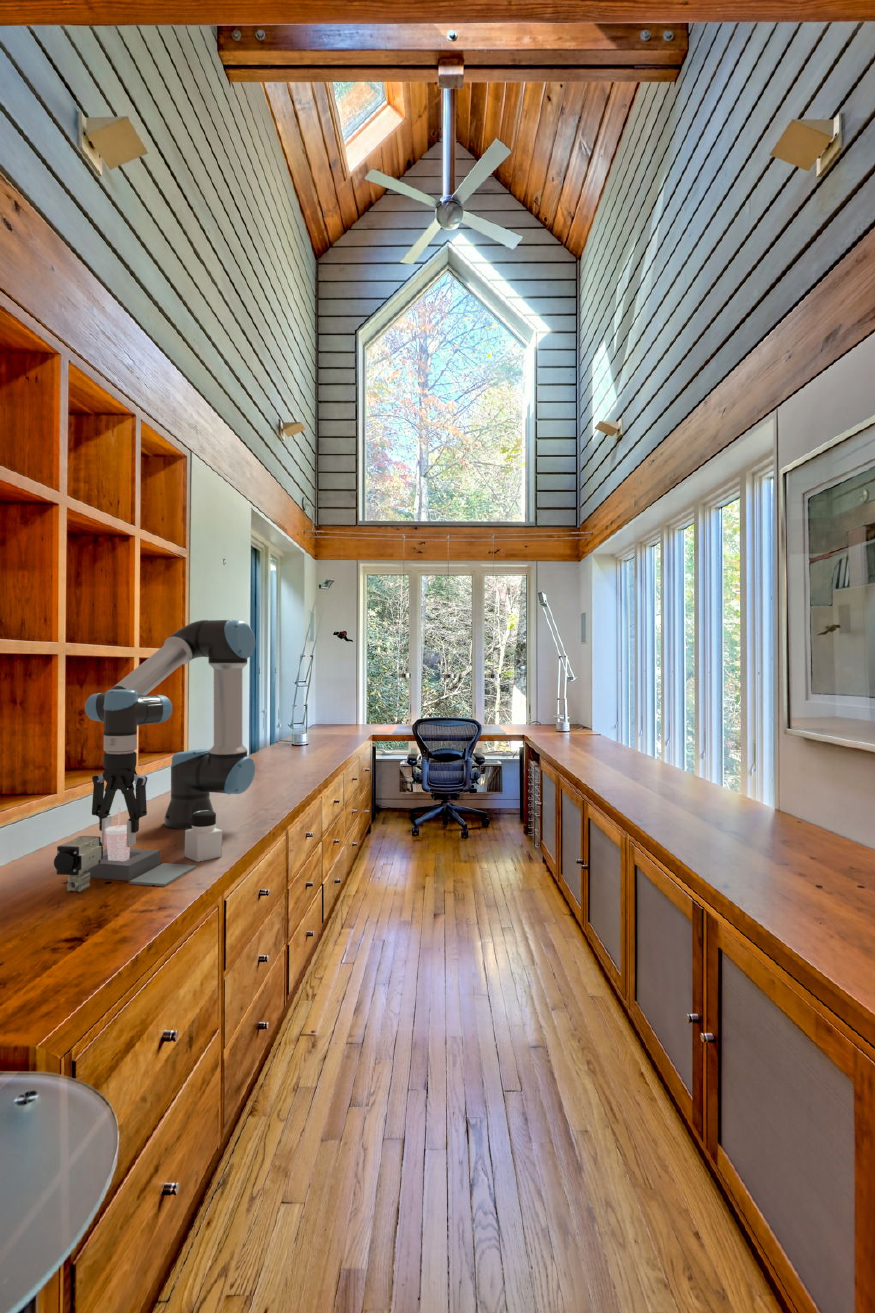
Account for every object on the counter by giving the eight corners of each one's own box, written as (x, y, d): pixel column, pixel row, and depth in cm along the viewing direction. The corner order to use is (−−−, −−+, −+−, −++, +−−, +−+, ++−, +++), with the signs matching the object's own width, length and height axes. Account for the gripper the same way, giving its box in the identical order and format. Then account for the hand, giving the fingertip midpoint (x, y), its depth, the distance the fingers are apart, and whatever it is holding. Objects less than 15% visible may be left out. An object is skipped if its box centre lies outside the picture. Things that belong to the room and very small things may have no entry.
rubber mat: (163, 865, 170) (163, 863, 170) (196, 867, 168) (196, 865, 168) (129, 883, 156) (129, 881, 156) (165, 886, 154) (165, 884, 154)
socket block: (110, 860, 173) (110, 846, 173) (160, 864, 171) (160, 850, 171) (75, 876, 160) (76, 861, 160) (128, 880, 158) (129, 865, 158)
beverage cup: (104, 869, 162) (104, 811, 162) (105, 862, 167) (106, 806, 167) (131, 866, 164) (132, 809, 164) (132, 859, 170) (133, 804, 170)
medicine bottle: (222, 857, 178) (223, 812, 178) (197, 862, 172) (197, 816, 172) (209, 851, 182) (209, 807, 183) (184, 856, 177) (184, 811, 177)
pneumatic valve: (52, 898, 146) (53, 843, 146) (84, 880, 158) (85, 829, 158) (76, 899, 145) (77, 844, 146) (106, 881, 157) (107, 830, 157)
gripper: (75, 752, 163) (73, 846, 163) (146, 755, 160) (145, 851, 160) (95, 748, 171) (94, 838, 171) (163, 751, 168) (162, 842, 168)
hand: (118, 844), depth 166 cm, fingers closed on beverage cup, 6 cm apart
